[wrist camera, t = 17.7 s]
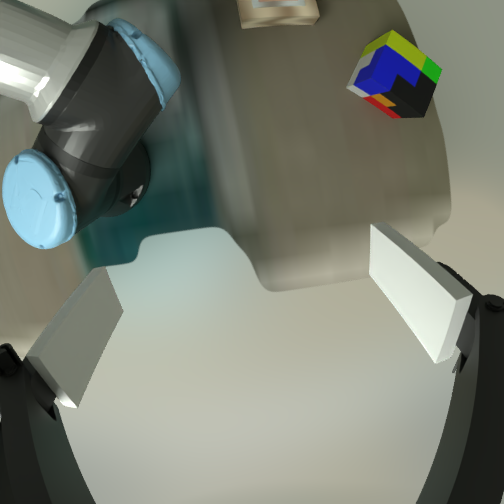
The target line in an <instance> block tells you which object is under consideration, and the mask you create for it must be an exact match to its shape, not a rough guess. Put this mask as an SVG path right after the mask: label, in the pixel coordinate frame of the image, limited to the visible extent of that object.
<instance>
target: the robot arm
mask: <svg viewBox="0 0 504 504" xmlns="http://www.w3.org/2000/svg"><path fill="white" fill-rule="evenodd" d="M180 83H181V75H180V71H179V69H178V67H177V66H176V64H175V63H174V62H173V60H172V59H171V58H170V57H169V56H168V55H167V54H166V53H165V52H164V51H163V49H161V48H160V47H159V46H158V45H157V44H156V43H155V42H154V41H153V40H152V39H151V38H149V37H148V36H147V35H145V34H142V32H141V31H140V30H138V29H137V28H136V27H135V26H134V25H132V24H131V23H129V22H127V21H125V20H123V19H120V18H116V19H114V20H112V21H110V22H109V23H108V24H107V25H106V26H105V25H103V24H102V23H100V22H98V21H97V20H91V21H87V22H84V23H80V24H77V25H71V24H69V23H67V22H65V21H63V20H61V19H59V18H57V17H55V16H53V15H51V14H48V13H46V12H44V11H42V10H40V9H37V8H35V7H33V6H30V5H28V4H25V3H23V2H20V1H18V0H0V94H2V95H5V96H8V97H11V98H14V99H17V100H20V101H23V102H25V103H26V104H27V105H28V108H29V111H30V115H31V118H32V121H34V122H36V123H39V124H42V125H43V126H42V128H41V130H40V132H39V134H38V136H37V138H36V140H35V142H34V145H33V147H32V148H31V149H26V150H23V151H22V152H20V153H19V154H18V155H16V156H15V157H14V158H13V159H12V160H11V161H10V163H9V164H8V166H7V168H6V170H5V174H4V178H3V185H2V195H3V202H4V207H5V209H6V212H7V216H8V219H9V221H10V223H11V225H12V226H13V228H14V230H15V231H16V232H17V234H18V235H19V236H20V237H21V238H22V239H23V240H24V241H26V242H27V243H28V244H30V245H32V246H34V247H36V248H40V249H48V248H49V249H50V248H54V247H56V246H58V245H60V244H62V243H64V242H66V241H68V240H69V239H71V238H72V236H74V235H75V234H76V233H78V232H79V231H80V230H82V229H83V228H85V227H86V226H87V225H89V224H90V223H92V222H93V221H95V220H96V219H98V218H99V217H114V216H118V215H121V214H123V213H125V212H127V211H128V210H130V209H131V208H133V207H134V206H135V205H136V204H137V203H138V202H139V201H140V200H141V199H142V197H143V196H144V194H145V192H146V190H147V187H148V184H149V179H150V163H149V158H148V155H147V153H146V151H145V149H144V147H143V145H142V144H141V143H140V141H139V140H140V138H141V137H142V135H143V134H144V133H145V131H146V130H147V128H148V127H149V126H150V124H151V123H152V122H153V120H154V119H155V118H156V116H157V115H158V114H159V112H160V111H163V110H164V109H165V107H166V103H167V102H168V101H169V99H170V98H171V97H172V95H173V94H174V93H175V91H176V90H177V89H178V87H179V85H180ZM369 275H370V276H371V277H372V278H373V280H374V281H375V282H376V283H377V285H378V286H379V287H380V288H381V290H382V291H383V292H384V294H385V295H386V296H387V297H388V299H389V300H390V301H391V303H392V304H393V305H394V307H395V308H396V309H397V311H398V312H399V313H400V315H401V316H402V317H403V319H404V320H405V321H406V323H407V324H408V326H409V327H410V328H411V330H412V331H413V333H414V334H415V335H416V337H417V338H418V340H419V341H420V342H421V344H422V345H423V347H424V348H425V350H426V351H427V353H428V354H429V356H430V357H431V358H432V360H433V361H434V363H435V364H437V363H439V362H442V361H444V360H446V359H449V358H451V356H452V354H453V351H454V349H455V346H456V345H457V347H458V348H459V349H460V351H461V353H460V355H459V357H458V360H457V362H456V364H455V366H454V369H453V371H452V373H454V372H455V371H456V376H455V382H454V387H453V392H452V397H451V402H450V406H449V411H448V415H447V419H446V423H445V426H444V430H443V433H442V437H441V440H440V444H439V446H438V449H437V453H436V455H435V459H434V461H433V464H432V467H431V470H430V472H429V475H428V477H427V480H426V482H425V484H424V487H423V489H422V491H421V494H420V496H419V498H418V500H417V502H416V504H500V503H501V499H502V495H503V492H504V299H503V298H501V297H499V296H496V295H490V294H487V295H484V296H483V295H481V294H480V293H479V292H478V291H477V290H476V289H475V288H474V287H473V286H471V285H470V284H469V283H468V282H467V281H466V280H464V279H463V278H462V277H461V276H460V275H459V274H457V273H456V272H455V271H454V270H453V269H452V268H450V267H449V266H447V265H445V264H443V263H441V262H435V261H434V260H433V259H432V258H431V257H429V256H428V255H427V254H426V253H424V252H423V251H422V250H420V249H419V248H418V247H417V246H416V245H414V244H413V243H412V242H411V241H409V240H408V239H407V238H405V237H404V236H403V235H401V234H400V233H399V232H397V231H396V230H395V229H393V228H392V227H391V226H389V225H388V224H387V223H385V222H380V223H373V224H371V242H370V269H369ZM122 313H123V309H122V307H121V304H120V302H119V300H118V298H117V295H116V293H115V290H114V288H113V285H112V283H111V281H110V278H109V275H108V273H107V270H106V268H105V267H100V268H94V269H93V270H92V271H91V272H90V273H89V274H88V275H87V277H86V278H85V279H84V280H83V281H82V282H81V284H80V285H79V286H78V287H77V288H76V290H75V291H74V292H73V293H72V294H71V296H70V297H69V298H68V299H67V301H66V302H65V303H64V304H63V306H62V307H61V308H60V309H59V311H58V312H57V313H56V315H55V316H54V317H53V319H52V320H51V321H50V322H49V324H48V325H47V327H46V328H45V329H44V331H43V332H42V333H41V335H40V336H39V338H38V339H37V340H36V342H35V343H34V345H33V346H32V347H31V349H30V350H29V352H28V353H27V355H26V356H25V358H24V360H23V361H21V359H20V358H19V356H18V355H17V353H16V352H15V350H14V349H13V347H12V346H11V344H9V343H5V344H2V345H0V418H1V422H0V504H96V503H95V501H94V499H93V497H92V495H91V493H90V491H89V489H88V487H87V485H86V483H85V481H84V478H83V476H82V474H81V472H80V469H79V467H78V464H77V462H76V460H75V457H74V455H73V452H72V449H71V446H70V444H69V441H68V439H67V435H66V432H65V429H64V426H63V423H62V420H61V416H60V413H59V409H58V407H57V405H56V404H55V403H54V400H55V398H56V397H57V398H58V399H59V400H60V401H61V403H62V404H63V405H64V406H68V407H74V408H78V406H79V404H80V401H81V399H82V396H83V394H84V392H85V390H86V388H87V385H88V383H89V381H90V379H91V376H92V374H93V372H94V369H95V368H96V365H97V363H98V361H99V359H100V357H101V355H102V353H103V350H104V349H105V347H106V345H107V342H108V340H109V339H110V337H111V334H112V332H113V331H114V329H115V327H116V325H117V323H118V321H119V319H120V317H121V315H122ZM456 369H457V370H456Z"/></svg>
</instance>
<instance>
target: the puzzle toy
mask: <svg viewBox="0 0 504 504" xmlns="http://www.w3.org/2000/svg"><path fill="white" fill-rule="evenodd" d="M441 71H442V69H441V68H440V67H439V66H438V65H436V64H435V63H434V62H433V61H432V60H431V59H429V58H428V57H427V56H426V55H425V54H424V53H422V52H421V51H420V50H419V49H417V48H416V47H415V46H414V45H412V44H411V43H410V42H408V41H407V40H406V39H404V38H403V37H402V36H400V35H399V34H398V33H396V32H395V31H393V30H391V31H389V32H387V33H386V34H384V35H382V36H381V37H379V38H378V39H376V40H374V41H373V42H371V43H370V44H368V45H366V47H365V49H364V51H363V53H362V56H361V58H360V60H359V62H358V64H357V66H356V68H355V70H354V72H353V74H352V76H351V78H350V80H349V83H348V85H347V87H346V88H347V89H349V90H351V91H352V92H354V93H356V94H357V95H359V96H360V97H362V98H364V99H365V100H367V101H368V102H370V103H371V104H373V105H374V106H376V107H377V108H379V109H380V110H382V111H383V112H384V113H386V114H387V115H389V116H390V117H392V118H420V117H424V116H425V113H426V111H427V109H428V106H429V103H430V101H431V98H432V96H433V93H434V90H435V88H436V85H437V82H438V79H439V77H440V74H441Z"/></svg>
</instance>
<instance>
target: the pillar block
mask: <svg viewBox="0 0 504 504" xmlns="http://www.w3.org/2000/svg"><path fill="white" fill-rule="evenodd" d="M258 1H259V2H269V1H298V0H258Z"/></svg>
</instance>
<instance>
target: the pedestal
mask: <svg viewBox="0 0 504 504" xmlns="http://www.w3.org/2000/svg"><path fill="white" fill-rule="evenodd" d="M236 1H237V6H238V11H239V17H240V22H241V27H242V29H246V28H255V27H267V26H282V25H314V24H315V22H316V21H317V19H318V18H319V17H320V15H319V11H318V7H317V3H316V0H298V1H269V2H259V1H258V0H236Z"/></svg>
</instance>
